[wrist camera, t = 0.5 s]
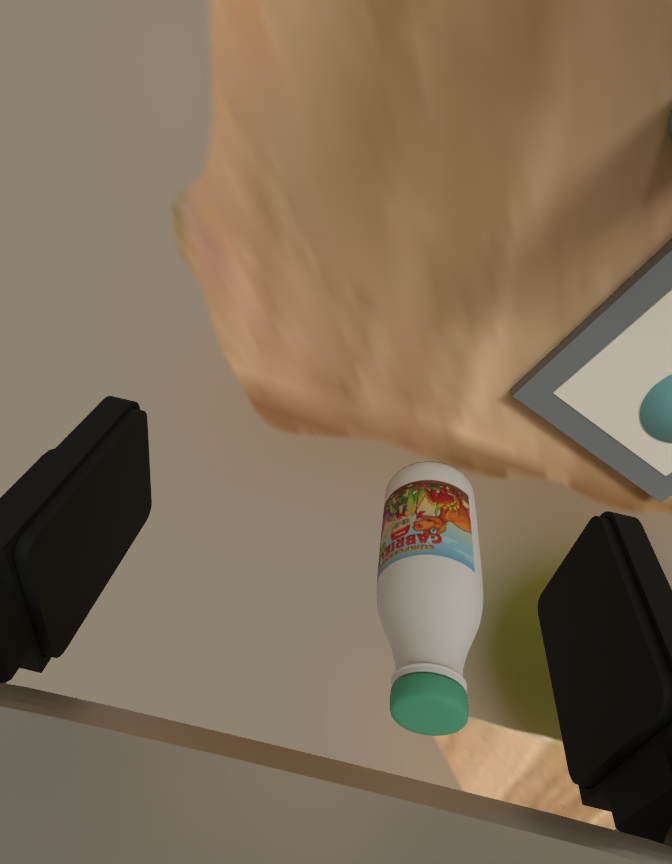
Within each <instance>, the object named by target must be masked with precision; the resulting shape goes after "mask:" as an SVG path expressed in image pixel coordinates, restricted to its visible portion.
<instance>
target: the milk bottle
mask: <svg viewBox="0 0 672 864" xmlns="http://www.w3.org/2000/svg"><path fill="white" fill-rule="evenodd" d="M377 604H378V611H379V616H380V619H381V623H382V626H383V629H384V631H385V633H386V636H387V638H388V640H389V643H390V646H391V648H392V652H393V655H394V660H395V665H396V672H395V673H394V674H393V676H392V679H391V683H392V688H391V694H390V711H391V715H392V717H393V719H394V720H395V721H396V722H397V723H398V724H399V725H400V726H402V727H404V728H405V729H407V730H410V731H412V732H415V733H419V734H424V735H432V736H440V735H448V734H452V733H455V732H457V731H459V730H460V729H462V728H463V727H464V726H465V725H466V723H467V720H468V697H467V694H466V691H467V684H466V681H465V680H464V678H463V677H462V673H463V667H464V663H465V659H466V656H467V653H468V651H469V648H470V646H471V644H472V642H473V640H474V638H475V635H476V633H477V631H478V628H479V625H480V621H481V615H482V608H483V583H482V570H481V558H480V547H479V537H478V527H477V517H476V507H475V498H474V492H473V488H472V486H471V484H470V482H469V481H468V479H467V478H466V477H465V476H464V475H463V474H462V473H461V472H460V471H458V470H457V469H455V468H453V467H452V466H449V465H446V464H444V463H439V462H427V461H426V462H418V463H415V464H411V465H409V466H407V467H404V468H403V469H401V470H400V471H399V472H398V473H397V474H396V475H395V476H394V477H393V478H392V479H391V480H390V482H389V484H388V487H387V491H386V497H385V505H384V514H383V524H382V533H381V543H380V554H379V564H378V578H377Z"/></svg>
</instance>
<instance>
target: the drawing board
mask: <svg viewBox="0 0 672 864" xmlns="http://www.w3.org/2000/svg"><path fill="white" fill-rule="evenodd" d="M511 393H512V396H513V397H514V398H515V399H517V400H518V401H520V402H521V403H522V404H524V405H525V406H527V407H528V408H529V409H531V410H532V411H534V412H535V413H536V414H538V415H539V416H541V417H542V418H543V419H545V420H546V421H547V422H549V423H550V424H552V425H553V426H554V427H556V428H557V429H559V430H560V431H561V432H563V433H564V434H566V435H567V436H568V437H570V438H571V439H573V440H574V441H575V442H577V443H578V444H580V445H581V446H582V447H584V448H585V449H586V450H588V451H589V452H591V453H592V454H593V455H595V456H596V457H598V458H599V459H600V460H602V461H603V462H605V463H606V464H607V465H609V466H610V467H612V468H613V469H614V470H616V471H617V472H618V473H620V474H621V475H623V476H624V477H625V478H627V479H628V480H630V481H631V482H632V483H634V484H635V485H637V486H638V487H639V488H641V489H642V490H644V491H645V492H646V493H648V494H649V495H650V496H652V497H653V498H655V499H656V500H657V501H659V502H662V501H663V500H665V499H666V498H668V497H669V496H671V495H672V240H671V241H670V242H669V243H668V244H667V245H665V246H664V247H663V248H662V249H661V250H660V251H659V252H658V253H657V254H656V255H655V256H654V257H653V258H651V259H650V260H649V261H648V262H647V263H646V264H645V265H644V266H643V267H642V268H641V269H640V270H639V271H637V272H636V273H635V274H634V275H633V276H632V277H631V278H630V279H629V280H628V281H627V282H626V283H625V284H623V285H622V286H621V287H620V288H619V289H618V290H617V291H616V292H615V293H614V294H613V295H612V296H611V297H610V298H608V299H607V300H606V301H605V302H604V303H603V304H602V305H601V306H600V307H599V308H598V309H597V310H596V311H594V312H593V313H592V314H591V315H590V316H589V317H588V318H587V319H586V320H585V321H584V322H583V323H582V324H580V325H579V326H578V327H577V328H576V329H575V330H574V331H573V332H572V333H571V334H570V335H569V336H568V337H566V338H565V339H564V340H563V341H562V342H561V343H560V344H559V345H558V346H557V347H556V348H555V349H554V350H553V351H551V352H550V353H549V354H548V355H547V356H546V357H545V358H544V359H543V360H542V361H541V362H540V363H539V364H537V365H536V366H535V367H534V368H533V369H532V370H531V371H530V372H529V373H528V374H527V375H526V376H525V377H523V378H522V379H521V380H520V381H519V382H518V383H517V384H516V385H515V386H514V387H513V388H512V389H511Z"/></svg>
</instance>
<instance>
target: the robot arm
mask: <svg viewBox="0 0 672 864" xmlns="http://www.w3.org/2000/svg"><path fill="white" fill-rule="evenodd" d="M150 510H151V483H150V464H149V445H148V425H147V414H146V412H145V411H142V410H140V407H139V405H138V403H137V402H134V401H130V400H126V399H121V398H116V397H113V396H108V397H106V398H105V399H103V400H102V401H101V402H100V404H99V405H98V406H97V407H96V408H95V409H94V410H93V411H92V412H91V413H90V414H89V415H88V416H87V417H86V418H85V419H84V420H83V421H82V422H81V423H80V424H79V425H78V426H77V427H76V428H75V429H74V430H73V431H72V432H71V433H70V434H69V435H68V436H67V437H66V438H65V439H64V440H63V441H62V442H61V444H60V445H58V446H57V447H56V448H55V449H52V450H49V451H48V452H46V453H45V454H44V455H43V456H42V457H41V458H40V459H39V460H38V461H37V462H36V463H35V464H34V465H33V466H32V467H31V468H30V469H29V470H28V471H27V472H26V473H25V474H24V475H23V476H22V477H21V478H20V479H19V480H18V481H17V482H16V483H15V484H14V485H13V486H12V487H11V488H10V489H9V490H8V491H7V492H6V493H5V494H4V495H3V496H2V497H1V498H0V864H672V590H671V588H670V585H669V583H668V581H667V579H666V577H665V575H664V572H663V570H662V568H661V566H660V564H659V561H658V559H657V557H656V555H655V553H654V550H653V548H652V546H651V544H650V542H649V540H648V537H647V535H646V533H645V531H644V529H643V526H642V524H641V523H640V521H639V520H638V519H637V518H635V517H631V516H626V515H622V514H618V513H613V512H604V513H603V514H601V516H600V517H599V516H594V517H592V518H591V520H590V521H589V523H588V524H587V526H586V527H585V529H584V530H583V532H582V533H581V535H580V536H579V538H578V539H577V541H576V542H575V544H574V545H573V547H572V548H571V550H570V551H569V553H568V554H567V556H566V557H565V559H564V560H563V562H562V563H561V565H560V566H559V568H558V569H557V571H556V572H555V574H554V576H553V577H552V579H551V580H550V582H549V583H548V585H547V586H546V588H545V589H544V591H543V592H542V594H541V595H540V598H539V602H538V616H539V621H540V626H541V631H542V636H543V641H544V646H545V652H546V657H547V661H548V667H549V672H550V678H551V683H552V688H553V693H554V698H555V703H556V709H557V714H558V718H559V724H560V729H561V734H562V739H563V745H564V750H565V755H566V760H567V765H568V770H569V774H570V777H571V779H572V781H573V782H574V783H575V784H578V785H579V789H580V794H581V799H582V804H583V805H586V806H590V807H594V808H598V809H602V810H607V811H611V812H612V814H613V819H614V823H615V827H616V829H615V830H612V829H608V828H604V827H600V826H597V825H593V824H589V823H586V822H582V821H578V820H574V819H571V818H567V817H563V816H559V815H556V814H552V813H548V812H544V811H540V810H536V809H532V808H528V807H524V806H520V805H516V804H512V803H508V802H504V801H500V800H496V799H492V798H488V797H484V796H480V795H476V794H472V793H468V792H464V791H459V790H456V789H451V788H447V787H443V786H440V785H435V784H431V783H427V782H423V781H419V780H415V779H411V778H407V777H403V776H399V775H395V774H390V773H387V772H383V771H379V770H374V769H370V768H366V767H362V766H358V765H354V764H350V763H346V762H342V761H338V760H334V759H330V758H325V757H321V756H317V755H313V754H309V753H305V752H301V751H296V750H293V749H288V748H284V747H280V746H276V745H272V744H268V743H264V742H260V741H255V740H252V739H247V738H243V737H238V736H235V735H231V734H226V733H222V732H218V731H214V730H210V729H205V728H201V727H197V726H193V725H189V724H185V723H180V722H176V721H172V720H168V719H164V718H159V717H155V716H150V715H147V714H143V713H138V712H134V711H130V710H126V709H122V708H117V707H113V706H109V705H104V704H100V703H95V702H91V701H86V700H81V699H77V698H73V697H68V696H63V695H58V694H54V693H50V692H45V691H41V690H36V689H31V688H27V687H22V686H16V685H10V684H7V683H6V682H7V681H9V680H11V679H12V677H13V676H14V674H15V673H16V672H17V670H18V669H19V668H24V669H27V670H32V671H36V672H40V673H42V671H43V670H44V668H45V667H46V665H47V663H48V662H49V660H50V659H51V657H55V658H58V657H60V656H61V655H62V654H63V653H64V651H65V650H66V648H67V647H68V645H69V643H70V642H71V640H72V639H73V637H74V635H75V634H76V632H77V631H78V629H79V627H80V626H81V624H82V623H83V621H84V619H85V618H86V616H87V615H88V613H89V611H90V610H91V608H92V606H93V605H94V604H95V602H96V600H97V599H98V597H99V596H100V594H101V592H102V591H103V589H104V587H105V586H106V584H107V583H108V581H109V579H110V578H111V576H112V575H113V573H114V572H115V570H116V568H117V567H118V565H119V564H120V562H121V560H122V559H123V557H124V556H125V554H126V552H127V551H128V549H129V548H130V546H131V544H132V543H133V541H134V540H135V538H136V536H137V535H138V533H139V532H140V530H141V528H142V527H143V525H144V523H145V522H146V520H147V518H148V516H149V513H150Z"/></svg>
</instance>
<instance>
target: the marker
mask: <svg viewBox="0 0 672 864" xmlns="http://www.w3.org/2000/svg"><path fill="white" fill-rule="evenodd" d="M669 134H670V137H671V140H672V111H671V114H670V118H669Z"/></svg>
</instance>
